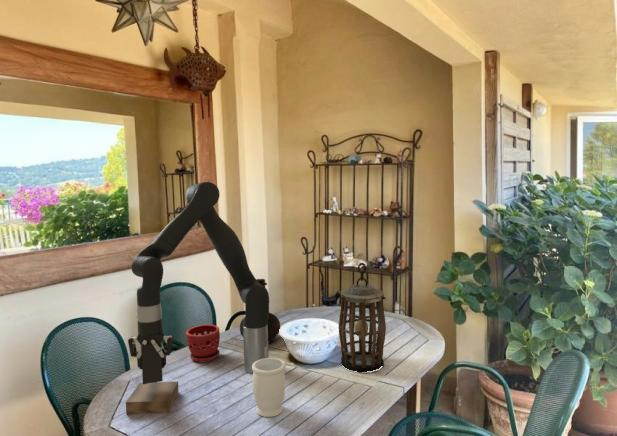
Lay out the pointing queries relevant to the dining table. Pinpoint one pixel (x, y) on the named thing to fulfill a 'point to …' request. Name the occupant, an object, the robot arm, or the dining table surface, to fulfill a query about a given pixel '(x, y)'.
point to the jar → (268, 386)
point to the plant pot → (203, 342)
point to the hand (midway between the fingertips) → (152, 367)
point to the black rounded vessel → (272, 321)
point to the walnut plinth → (152, 398)
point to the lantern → (362, 326)
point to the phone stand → (151, 364)
